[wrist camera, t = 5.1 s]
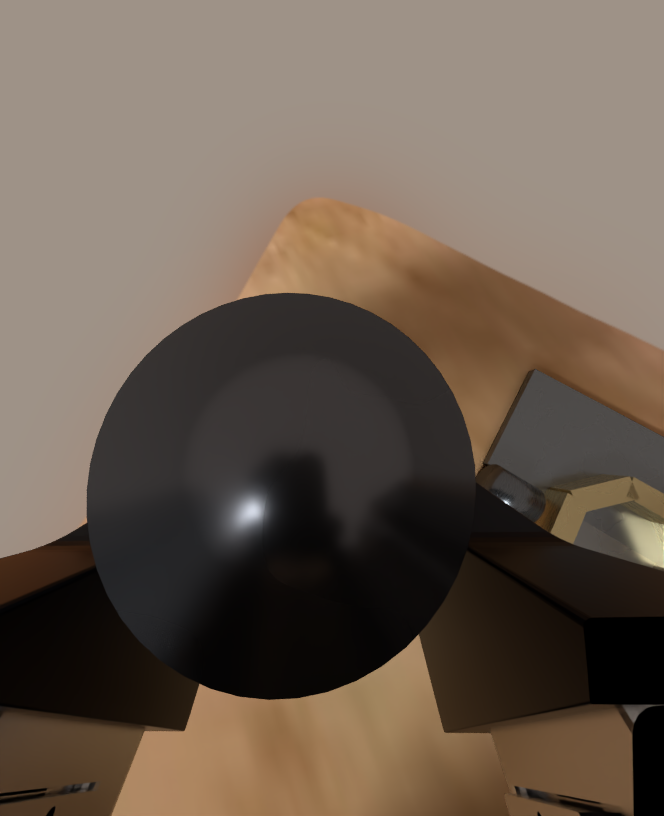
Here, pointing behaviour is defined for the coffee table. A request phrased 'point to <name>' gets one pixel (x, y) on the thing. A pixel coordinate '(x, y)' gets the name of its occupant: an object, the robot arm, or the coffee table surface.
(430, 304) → the coffee table surface
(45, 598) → the robot arm
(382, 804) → the coffee table surface
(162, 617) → the pin
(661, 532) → the grey square base plate
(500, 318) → the coffee table surface
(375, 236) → the coffee table surface
